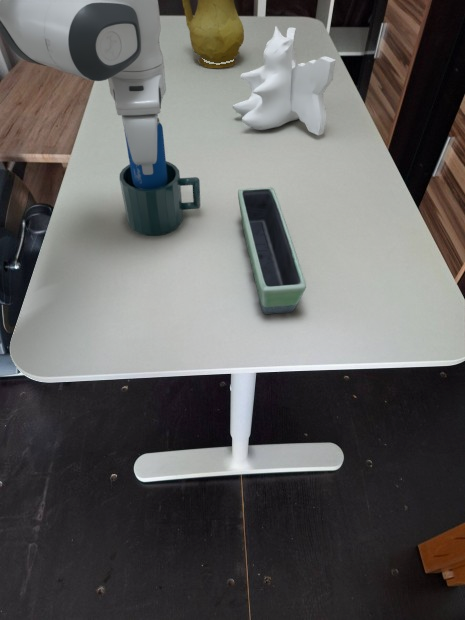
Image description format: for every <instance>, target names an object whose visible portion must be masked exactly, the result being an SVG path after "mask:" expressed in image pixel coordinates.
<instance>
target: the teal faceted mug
mask: <svg viewBox="0 0 465 620" xmlns="http://www.w3.org/2000/svg"><path fill="white" fill-rule="evenodd" d="M166 168H167V183H166V184H165V185H164V186H162V187H160V188H156V189H140V188H138V187H136V186H135V185H134V184H133V180H132V174H131V168H130V163H129V164H128V165H126V166H125V167H123V168H122V169H121V171H120V173H119V184H120V189H121V194H122V200H123V204H124V210H125V211H124V212H125V215H126V220H127V223H128V226H129V228H130V229H131V230H132V231H134V232H135V233H137V234H139V235H143V236H149V237H159V236H163V235H167V234H171V233H172V232H174V231H175V230H177V229H178V228H179V227H180V226H181V225H182V224H183V219H184V213H183V212H184V211H186V210H199V209H200V208H201V182H200V178H198V177H196V176H193V177H181V174H180V169H179V168H178V167H177V166H176V165H175V164H173V163H171V162H170V161H167V160H166ZM184 186H192V201H187V202H183V200H182V187H184Z"/></svg>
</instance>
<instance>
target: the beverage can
mask: <svg viewBox="0 0 465 620" xmlns="http://www.w3.org/2000/svg"><path fill="white" fill-rule="evenodd" d="M123 131H124V132H125V129H124V128H123ZM124 137H125V141H126V149H127V155H128V162H129V164H130V168H131V174H132V180H133V184H134V185H135V186H136V187H138V188H140V189H156V188H160V187H162V186H164V185H165V184H166V183H167V168H166V161H167V160H166V159H167V158H166V147H165V139H164V129H163V124H162V123H161V122H160V119H159V117H158V118H157V160H156V163H155V164H152V165H153V174H151V175H144V174H143V171H142V165H136V164H135V163H134V161H133V159H132V156H131V153H130V149H129V145H128V141H127V138H126V134H125V133H124Z"/></svg>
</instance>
